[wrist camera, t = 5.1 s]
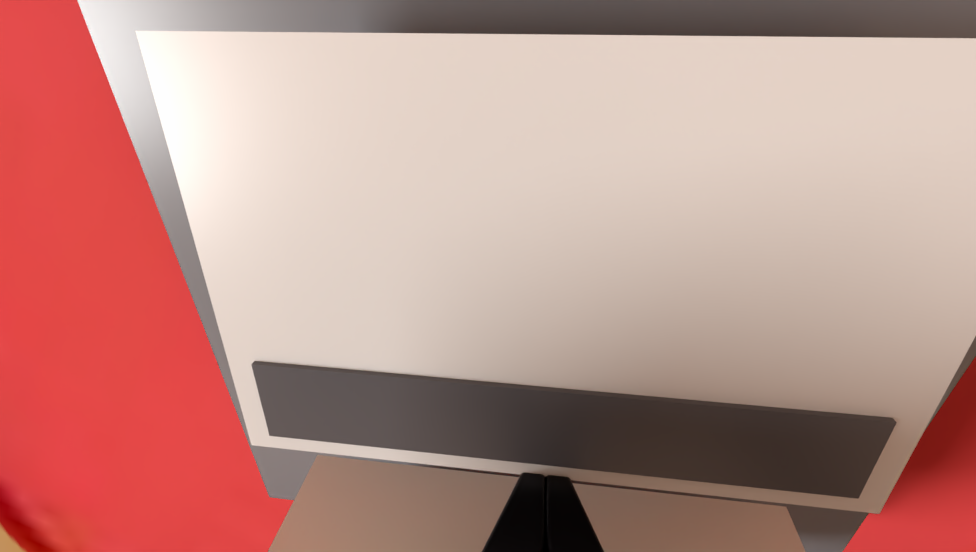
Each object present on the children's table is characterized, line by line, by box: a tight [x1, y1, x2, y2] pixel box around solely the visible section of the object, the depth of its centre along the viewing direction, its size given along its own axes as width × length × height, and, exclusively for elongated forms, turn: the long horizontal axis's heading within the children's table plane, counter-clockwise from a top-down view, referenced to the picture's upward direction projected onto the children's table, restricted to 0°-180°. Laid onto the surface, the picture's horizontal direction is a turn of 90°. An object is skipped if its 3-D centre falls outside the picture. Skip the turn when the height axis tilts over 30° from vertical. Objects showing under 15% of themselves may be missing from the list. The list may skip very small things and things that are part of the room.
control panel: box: [77, 0, 976, 552], centre depth 10 cm, size 18×22×4 cm
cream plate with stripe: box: [136, 31, 976, 514], centre depth 7 cm, size 11×7×1 cm, turn 91°
